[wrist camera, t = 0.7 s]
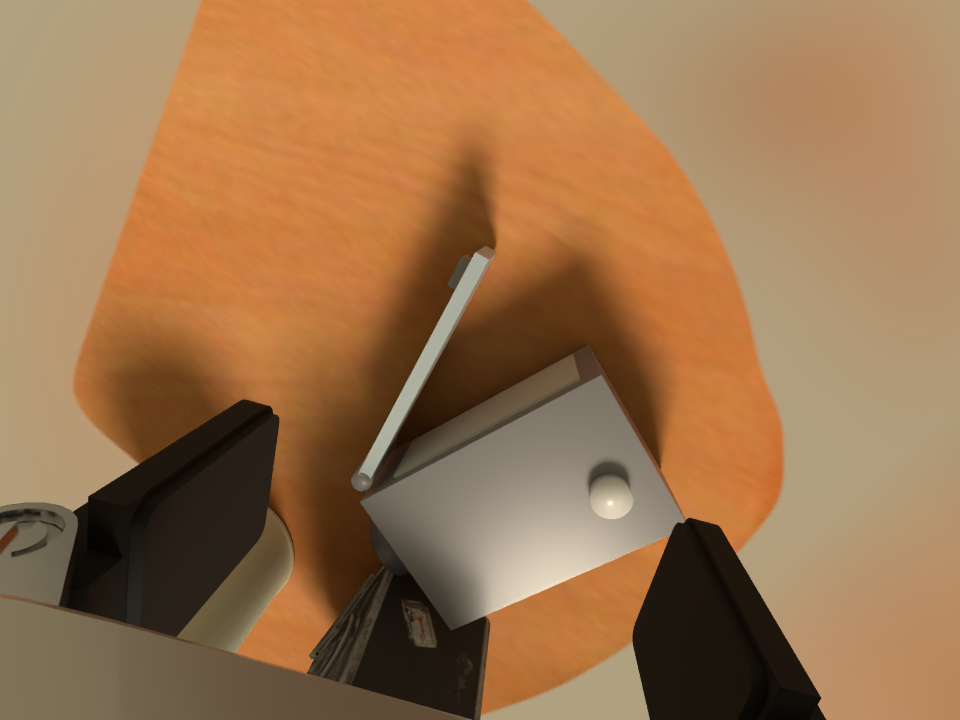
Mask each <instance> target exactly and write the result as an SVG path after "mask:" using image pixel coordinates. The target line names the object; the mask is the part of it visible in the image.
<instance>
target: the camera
mask: <svg viewBox="0 0 960 720" xmlns="http://www.w3.org/2000/svg"><path fill="white" fill-rule="evenodd" d="M489 631H490V622H489V619H488V618H487V617H486V616H485V617H481V618H479V619H477V620H474V621H472V622H470V623H467V624H465V625H463V626H460V627H458V628H456V629H454V630H450V628H449V627H448V625H447V624H446V623H445V621H444V620H443V618H442V617H441V616H440V614H439V613H438V611H437V610H436V609H435V607H434V606H433V604H432V603H431V602H430V600H429V599H428V597H427V596H426V595H425V593H424V592H423V590H422V589H421V588H420V586H419V585H418V583H417V582H416V581H415V579H414V578H413V576H412V575H411V574H410V572H408V573H406V574H404V575H401V576H398V575H395V574H392V573H391V572H390V571H388V570H387V569H386V568H385V567H384V565H383V566H382V568H381V569H380V570H379V571H378V573H377V574H376V575H375V574H374V573H372V574H371V575H370V576H369V577H368V578H367V579H366V581H365V582H364V583H363V584H362V585H361V586H360V588H359V589H358V590H357V592H356V593H355V594H354V596H353V598H352V599H351V601H350V602H349V603H348V605H347V606H346V607H345V609H344V610H343V611H342V613H341V614H340V615H339V617H338V618H337V619H336V621H335V622H334V623H333V625H332V626H331V627H330V629H329V630H328V631H327V633H326V634H325V635H324V636H323V638H322V639H321V640H320V642H319V643H318V644H317V646H316V647H315V648H314V650H313V651H312V652H311V654H310V655H309V656H310V658H311V659H314V660H313V662H312V664H311V667H310V669H309V670H308V672H307V673H308V674H312V675H315V676H319V677H322V678H326V679H329V680H333V681H337V682H340V683H344V684H347V685H351V686H354V687H358V688H361V689H365V690H369V691H372V692H376V693H379V694H383V695H386V696H390V697H393V698H397V699H401V700H404V701H408V702H411V703H415V704H418V705H422V706H425V707H429V708H432V709H436V710H440V711H443V712H447V713H450V714H454V715H457V716H461V717H464V718H468V719H471V720H480V716H481V707H482V697H483V688H484V678H485V669H486V660H487V650H488V641H489Z"/></svg>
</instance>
